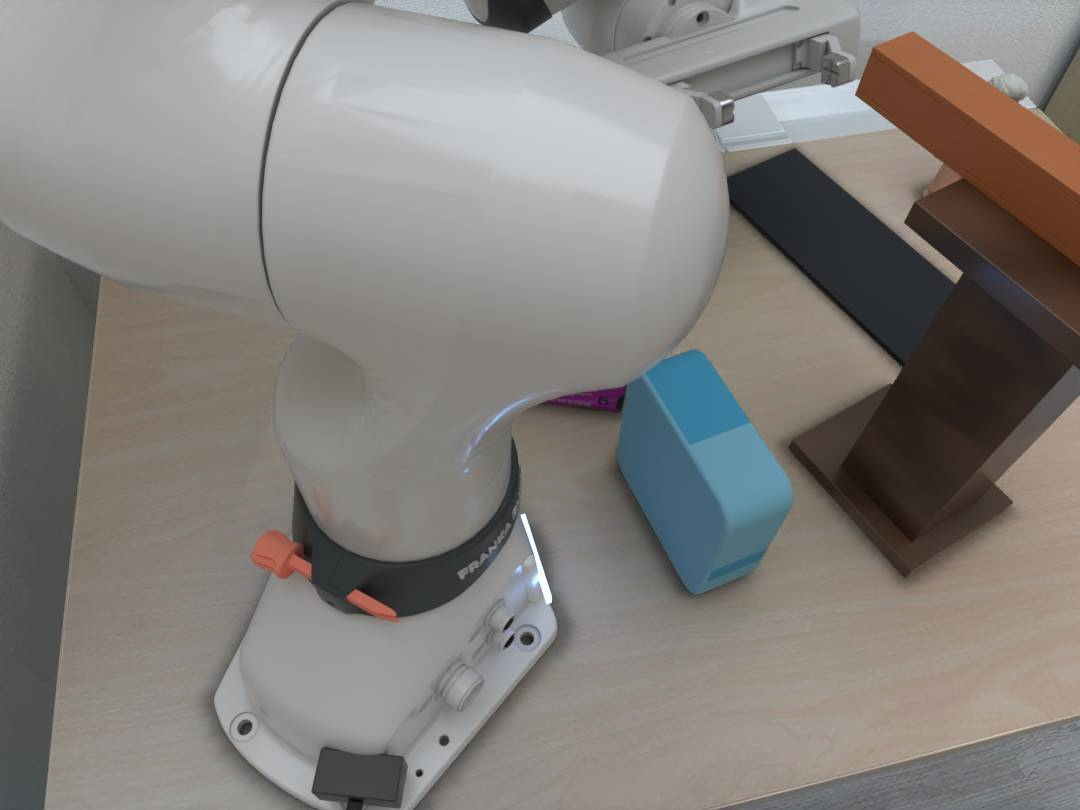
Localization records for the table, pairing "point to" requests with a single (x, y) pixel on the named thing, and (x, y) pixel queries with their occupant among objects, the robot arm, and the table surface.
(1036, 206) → the terracotta beam
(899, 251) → the mat
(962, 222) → the stand
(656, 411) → the blue rounded case
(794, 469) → the table surface
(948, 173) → the grandmother figurine
